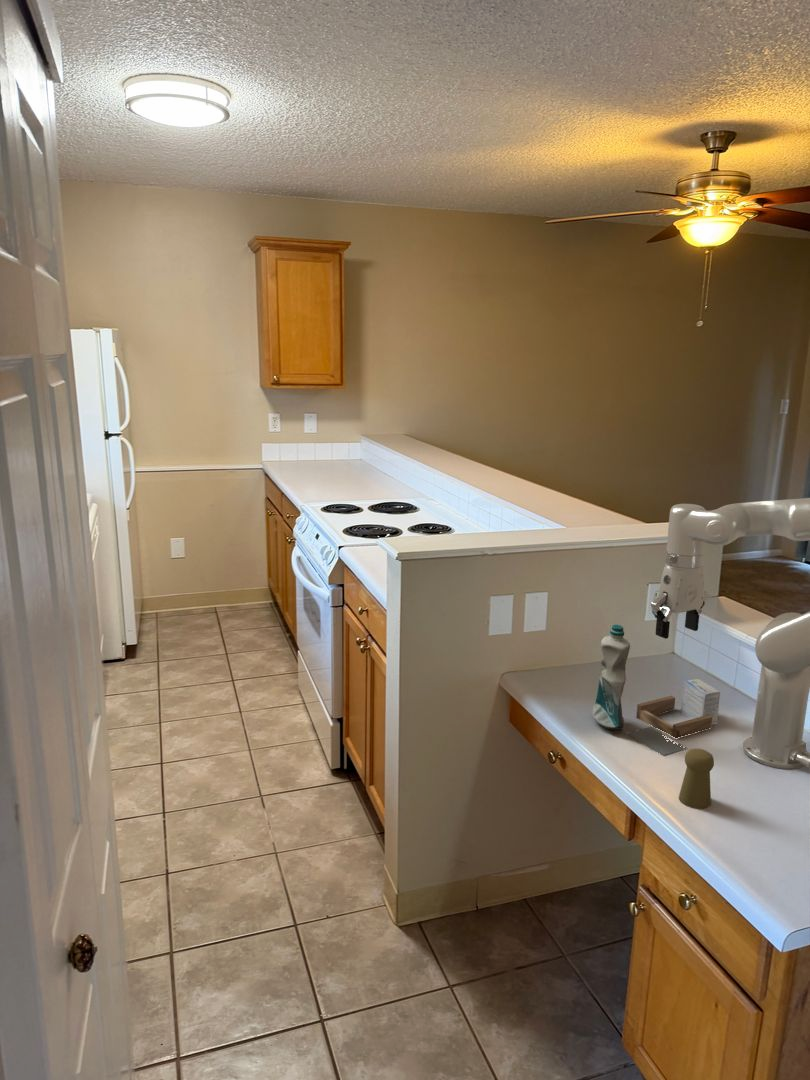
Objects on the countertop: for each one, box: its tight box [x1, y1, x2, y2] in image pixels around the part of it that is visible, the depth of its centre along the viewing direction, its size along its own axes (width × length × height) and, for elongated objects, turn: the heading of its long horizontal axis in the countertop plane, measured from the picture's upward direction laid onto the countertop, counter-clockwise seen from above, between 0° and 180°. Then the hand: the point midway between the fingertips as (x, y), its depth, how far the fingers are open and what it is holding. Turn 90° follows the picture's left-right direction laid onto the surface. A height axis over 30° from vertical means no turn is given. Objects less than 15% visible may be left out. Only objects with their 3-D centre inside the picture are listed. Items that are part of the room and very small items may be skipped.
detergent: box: [591, 624, 631, 730], centre depth 173 cm, size 13×7×25 cm, turn 5°
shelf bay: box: [636, 695, 713, 738], centre depth 177 cm, size 12×11×4 cm
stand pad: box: [627, 726, 687, 757], centre depth 168 cm, size 11×7×1 cm, turn 27°
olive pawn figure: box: [678, 748, 715, 810], centre depth 144 cm, size 6×6×11 cm
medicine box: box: [680, 678, 721, 725], centre depth 179 cm, size 8×4×9 cm, turn 17°
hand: (676, 632), depth 171 cm, fingers open, 9 cm apart
